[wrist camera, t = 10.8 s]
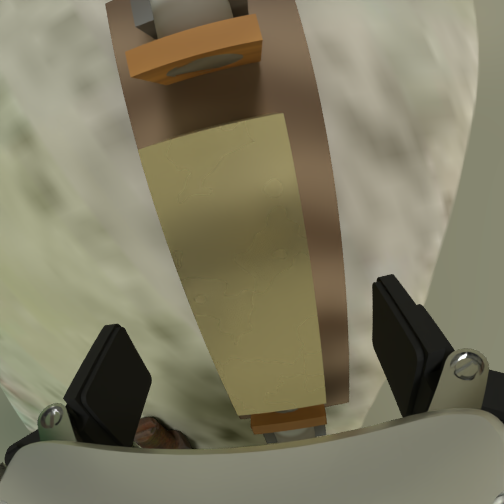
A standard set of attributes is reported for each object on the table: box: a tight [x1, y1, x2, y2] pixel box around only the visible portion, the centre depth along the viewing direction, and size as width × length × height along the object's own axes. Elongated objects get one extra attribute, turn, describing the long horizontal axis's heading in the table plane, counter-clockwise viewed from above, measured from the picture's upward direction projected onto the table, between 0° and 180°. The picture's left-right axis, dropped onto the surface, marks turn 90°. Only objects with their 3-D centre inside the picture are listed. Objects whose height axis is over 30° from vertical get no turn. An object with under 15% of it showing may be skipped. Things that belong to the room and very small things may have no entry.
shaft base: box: [105, 0, 349, 444], centre depth 15 cm, size 30×9×6 cm, turn 12°
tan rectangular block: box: [138, 113, 326, 416], centre depth 14 cm, size 4×13×6 cm, turn 12°
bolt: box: [134, 417, 191, 449], centre depth 27 cm, size 6×5×15 cm
